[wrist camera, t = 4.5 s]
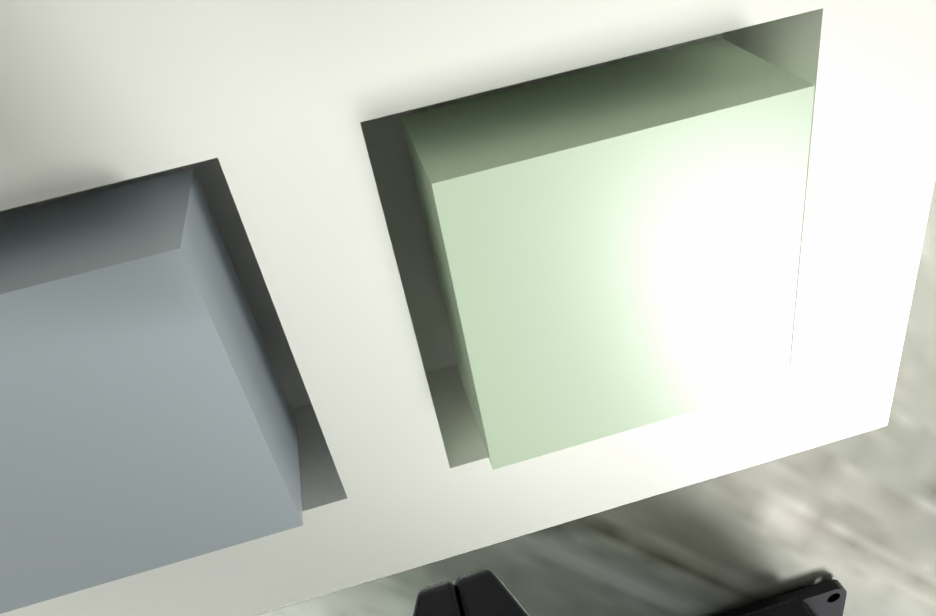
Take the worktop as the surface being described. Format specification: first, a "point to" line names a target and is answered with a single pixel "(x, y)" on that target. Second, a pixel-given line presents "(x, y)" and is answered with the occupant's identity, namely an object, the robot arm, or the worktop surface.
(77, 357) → the slate key
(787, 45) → the keypad
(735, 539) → the worktop surface
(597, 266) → the sage key
